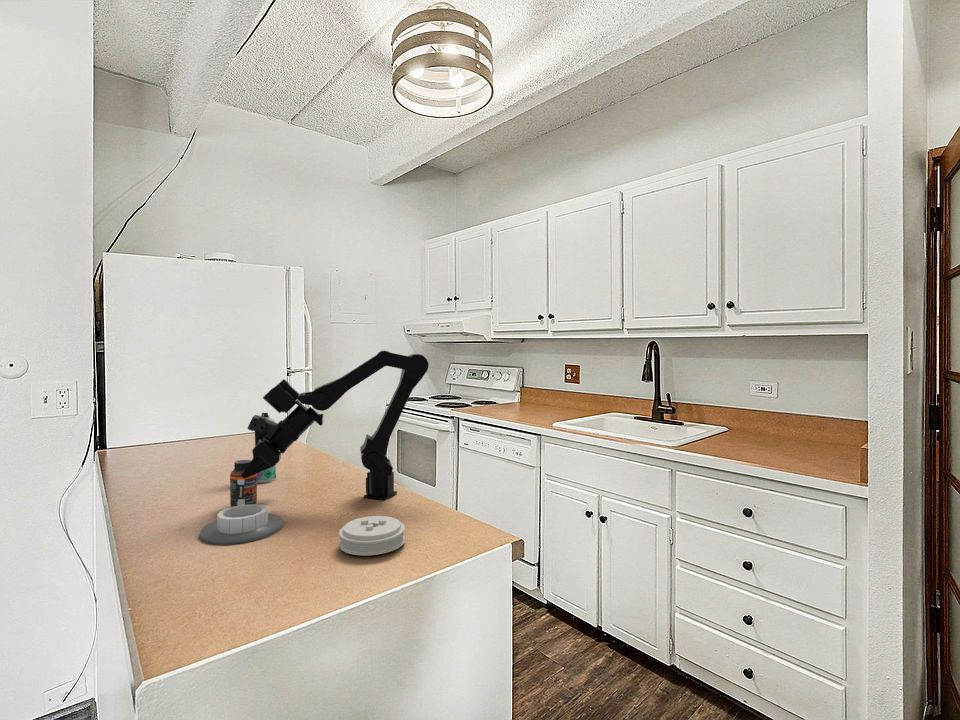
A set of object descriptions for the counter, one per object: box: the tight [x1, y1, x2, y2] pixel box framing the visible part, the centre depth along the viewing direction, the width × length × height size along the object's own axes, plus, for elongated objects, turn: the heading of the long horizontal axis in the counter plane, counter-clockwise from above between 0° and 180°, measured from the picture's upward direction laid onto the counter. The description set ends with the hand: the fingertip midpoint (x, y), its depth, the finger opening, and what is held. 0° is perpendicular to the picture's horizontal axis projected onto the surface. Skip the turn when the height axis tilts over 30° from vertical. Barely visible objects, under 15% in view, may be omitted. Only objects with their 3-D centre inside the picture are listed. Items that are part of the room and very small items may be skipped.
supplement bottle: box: [229, 459, 258, 507], centre depth 124 cm, size 6×6×11 cm
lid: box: [338, 515, 406, 556], centre depth 100 cm, size 13×13×5 cm
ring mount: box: [200, 503, 284, 546], centre depth 109 cm, size 16×16×4 cm
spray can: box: [254, 412, 277, 484], centre depth 148 cm, size 6×6×20 cm
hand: (246, 472), depth 124 cm, fingers open, 9 cm apart
